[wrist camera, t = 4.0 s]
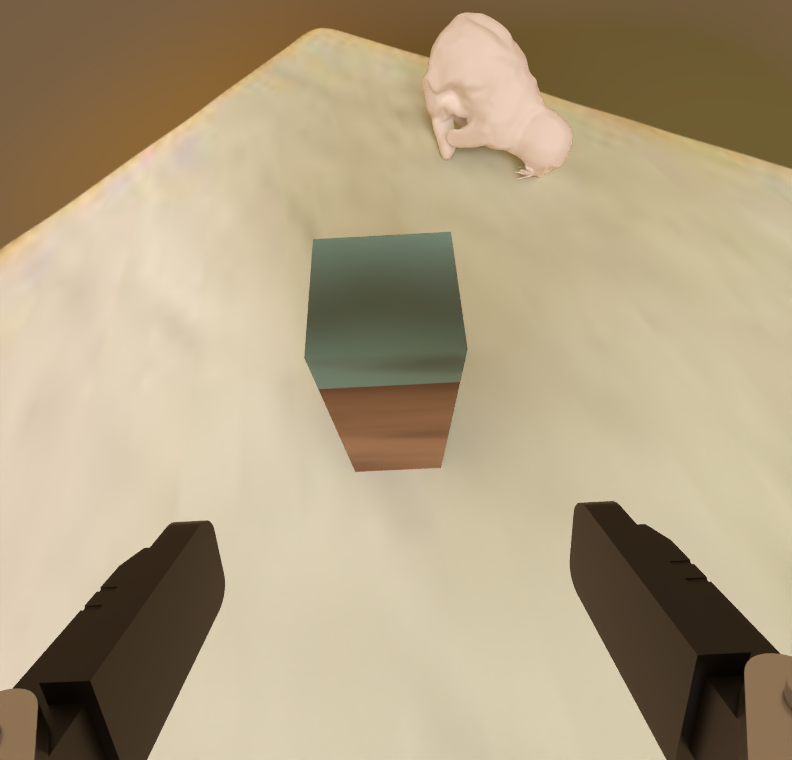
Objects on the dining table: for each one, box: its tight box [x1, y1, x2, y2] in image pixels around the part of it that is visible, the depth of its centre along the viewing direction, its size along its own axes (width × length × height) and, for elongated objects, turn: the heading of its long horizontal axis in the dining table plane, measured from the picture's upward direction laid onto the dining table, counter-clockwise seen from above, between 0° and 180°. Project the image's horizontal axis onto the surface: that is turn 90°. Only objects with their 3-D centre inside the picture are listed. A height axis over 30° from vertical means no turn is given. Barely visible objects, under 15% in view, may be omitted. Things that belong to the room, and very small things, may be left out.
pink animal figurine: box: [422, 13, 573, 180], centre depth 31 cm, size 6×8×12 cm
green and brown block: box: [304, 232, 467, 472], centre depth 18 cm, size 5×5×12 cm
